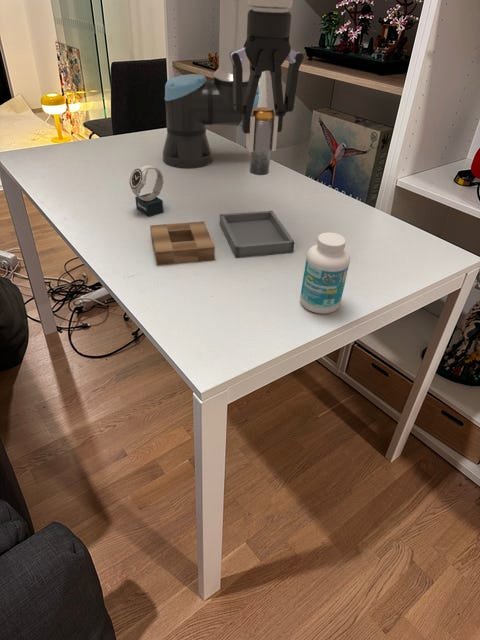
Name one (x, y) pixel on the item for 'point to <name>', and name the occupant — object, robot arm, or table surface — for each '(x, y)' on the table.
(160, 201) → the watch
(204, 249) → the socket block
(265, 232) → the tray
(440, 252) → the table surface
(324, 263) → the pill bottle
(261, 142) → the pin
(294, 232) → the table surface
